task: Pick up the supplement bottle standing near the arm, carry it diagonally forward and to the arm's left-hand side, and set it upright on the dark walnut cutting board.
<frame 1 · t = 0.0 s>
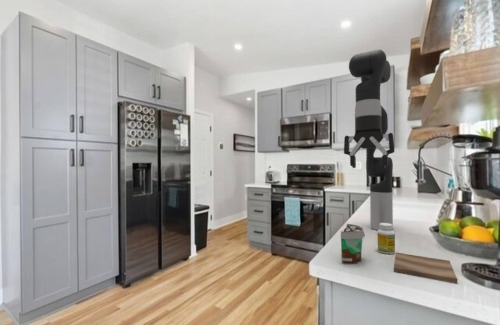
hand: (368, 167, 80), 29 cm above the worktop, tool pointing down, fingers open, 8 cm apart
walnut cutting board: (422, 268, 74), on the worktop
food container: (354, 260, 81), on the worktop
supplement bottle: (386, 252, 88), on the worktop
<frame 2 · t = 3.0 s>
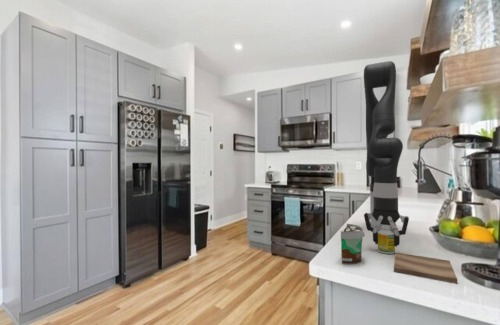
hand: (386, 244, 88), 2 cm above the worktop, tool pointing down, fingers closed on supplement bottle, 5 cm apart
supplement bottle: (386, 252, 88), on the worktop, touching gripper
everything else where it was.
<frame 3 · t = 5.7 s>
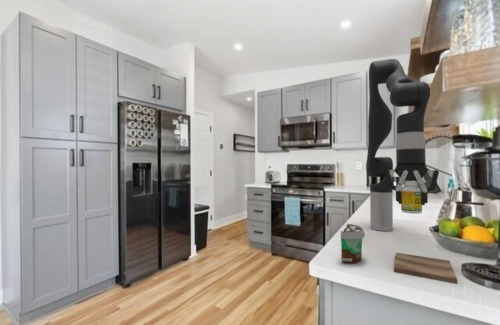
hand: (411, 203, 77), 18 cm above the worktop, tool pointing down, fingers closed on supplement bottle, 5 cm apart
supplement bottle: (411, 212, 77), point 16 cm above the worktop, touching gripper
everything else where it was.
when the fingers open (5 cm above the worktop, at t = 8.7 s): supplement bottle drops 2 cm, resting on walnut cutting board.
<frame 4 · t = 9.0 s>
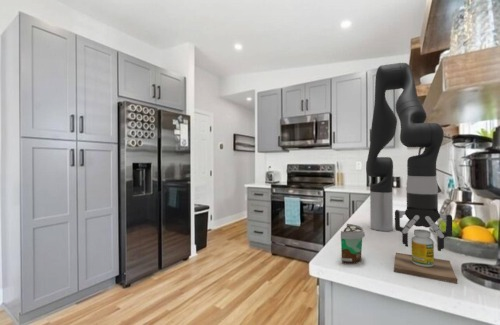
hand: (422, 247, 74), 6 cm above the worktop, tool pointing down, fingers open, 7 cm apart
supplement bottle: (422, 264, 74), point 1 cm above the worktop, touching walnut cutting board
everything else where it was.
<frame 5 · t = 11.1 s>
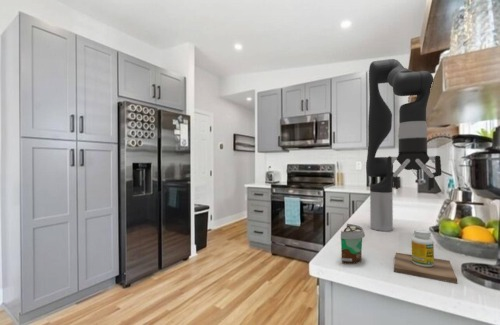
hand: (412, 189, 79), 22 cm above the worktop, tool pointing down, fingers open, 8 cm apart
nothing on the worktop moved.
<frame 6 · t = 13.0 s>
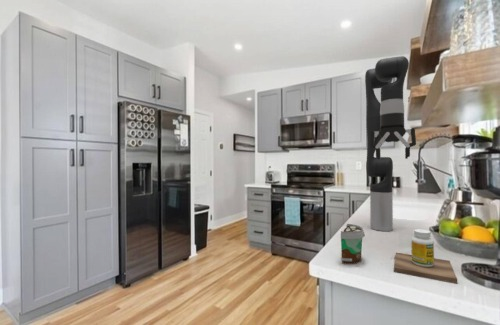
hand: (392, 158, 91), 32 cm above the worktop, tool pointing down, fingers open, 8 cm apart
nothing on the worktop moved.
at the end: supplement bottle inside the target area on the walnut cutting board (0.1 cm from its centre), point 1.0 cm above the walnut cutting board's base; supplement bottle tilted 0°; the gripper is holding nothing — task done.
